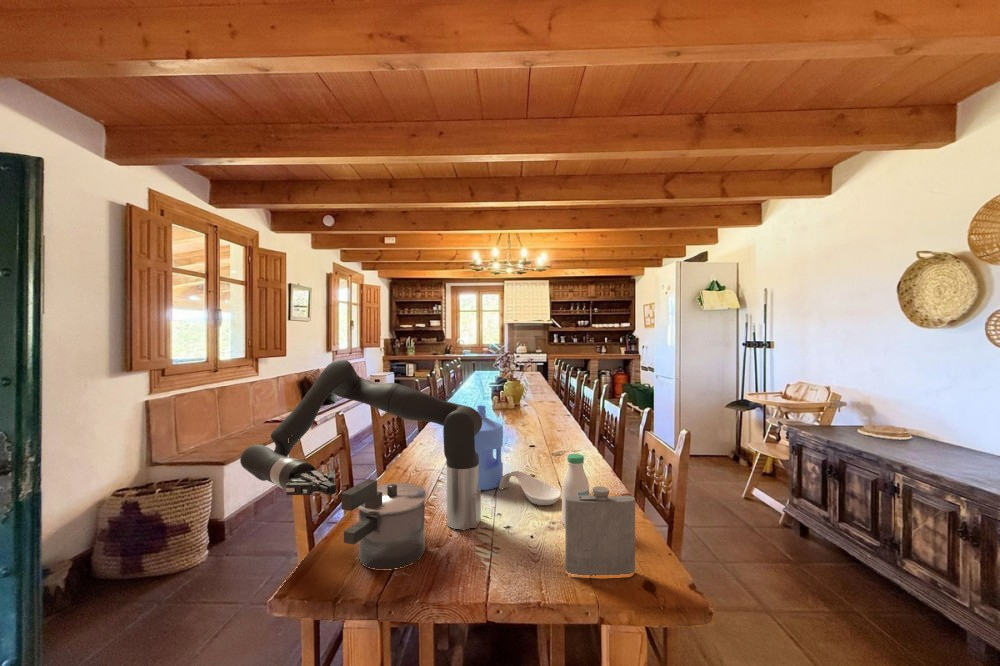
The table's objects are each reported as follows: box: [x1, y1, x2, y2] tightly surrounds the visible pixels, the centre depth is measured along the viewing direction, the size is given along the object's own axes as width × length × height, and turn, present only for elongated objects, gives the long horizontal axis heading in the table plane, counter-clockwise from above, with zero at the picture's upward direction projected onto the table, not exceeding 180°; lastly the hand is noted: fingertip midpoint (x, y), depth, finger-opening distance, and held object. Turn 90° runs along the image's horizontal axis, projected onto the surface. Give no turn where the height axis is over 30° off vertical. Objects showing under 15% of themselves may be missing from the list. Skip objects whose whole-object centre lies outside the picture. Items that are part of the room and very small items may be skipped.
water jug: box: [475, 405, 504, 491], centre depth 157 cm, size 16×16×28 cm
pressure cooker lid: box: [341, 478, 427, 515], centre depth 104 cm, size 25×17×8 cm, turn 160°
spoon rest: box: [498, 470, 562, 506], centre depth 144 cm, size 24×12×7 cm, turn 47°
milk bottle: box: [561, 453, 590, 526], centre depth 124 cm, size 8×8×20 cm
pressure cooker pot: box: [343, 502, 426, 569], centre depth 105 cm, size 24×16×13 cm, turn 159°
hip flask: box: [564, 486, 636, 576], centre depth 99 cm, size 16×4×20 cm, turn 90°
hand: (332, 490), depth 99 cm, fingers closed
